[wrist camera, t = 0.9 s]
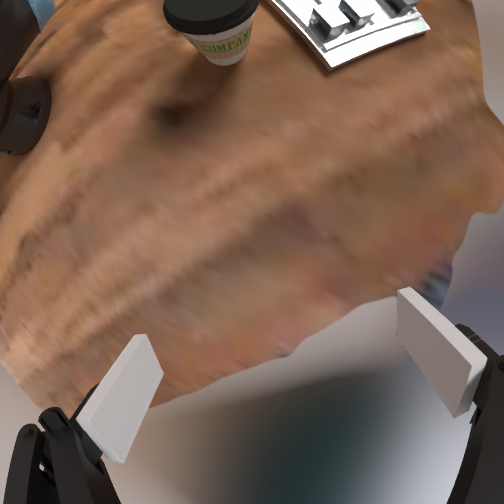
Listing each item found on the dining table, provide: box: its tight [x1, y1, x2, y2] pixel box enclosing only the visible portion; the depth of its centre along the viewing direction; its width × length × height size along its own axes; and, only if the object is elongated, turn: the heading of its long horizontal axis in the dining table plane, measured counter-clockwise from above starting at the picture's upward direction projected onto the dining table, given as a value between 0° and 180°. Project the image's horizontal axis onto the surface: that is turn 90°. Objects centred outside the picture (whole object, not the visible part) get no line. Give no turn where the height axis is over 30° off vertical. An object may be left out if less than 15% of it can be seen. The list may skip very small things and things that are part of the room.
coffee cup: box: [163, 0, 259, 66], centre depth 24 cm, size 10×10×15 cm
